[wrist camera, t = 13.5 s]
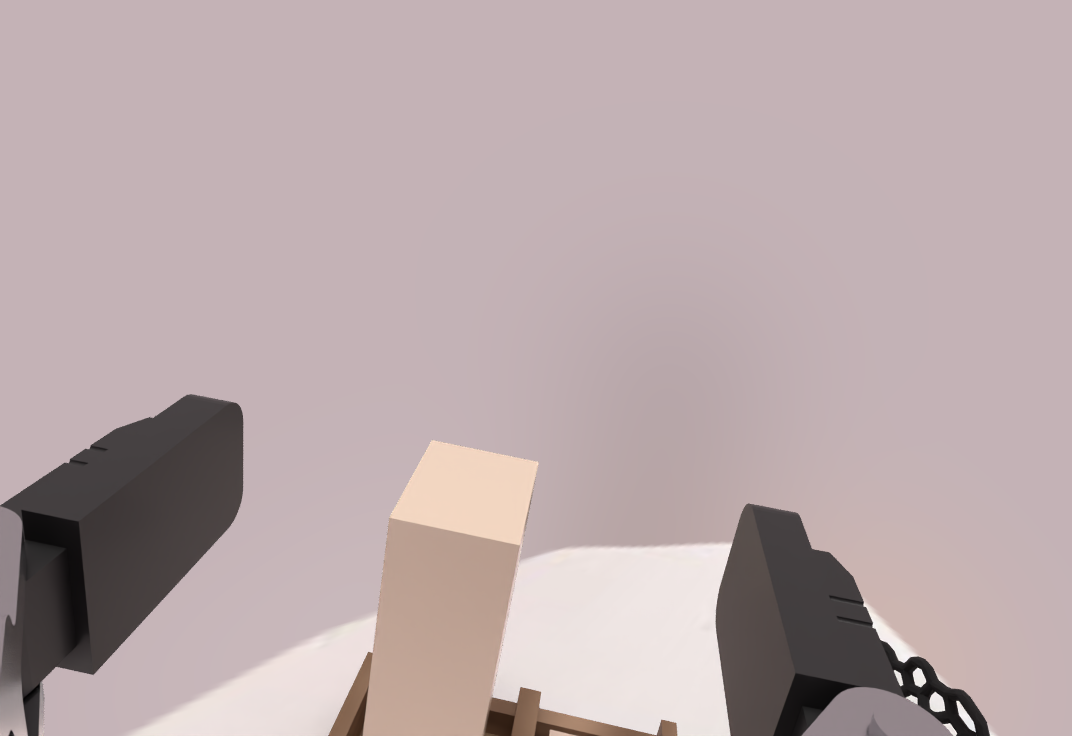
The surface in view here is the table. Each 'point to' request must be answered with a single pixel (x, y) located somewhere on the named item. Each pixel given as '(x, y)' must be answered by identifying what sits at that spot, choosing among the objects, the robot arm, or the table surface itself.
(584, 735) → the wooden open-ended tray
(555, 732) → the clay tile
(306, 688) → the table surface
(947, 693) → the decorative element
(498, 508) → the beige wooden block
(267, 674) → the table surface
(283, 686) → the table surface
